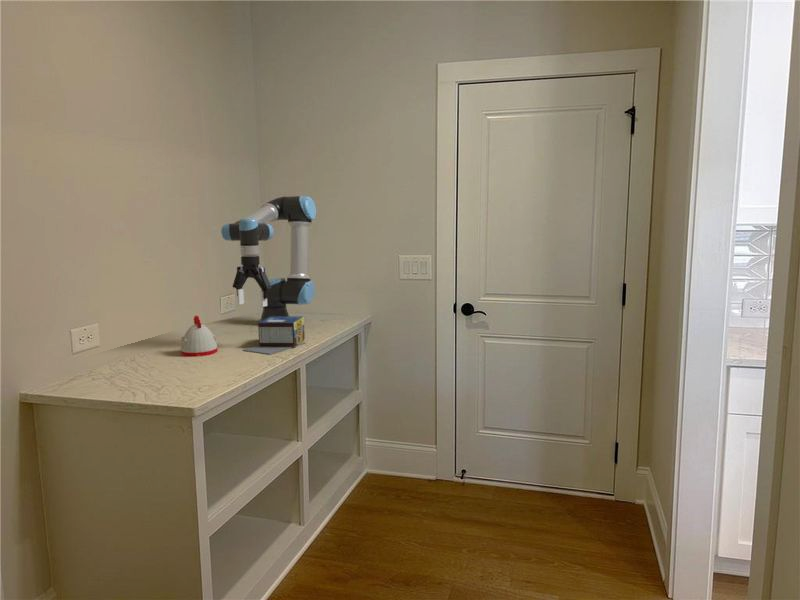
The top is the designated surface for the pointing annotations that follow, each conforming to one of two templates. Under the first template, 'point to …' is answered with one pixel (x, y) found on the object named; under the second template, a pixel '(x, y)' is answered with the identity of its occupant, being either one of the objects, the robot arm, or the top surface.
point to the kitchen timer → (198, 341)
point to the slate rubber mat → (269, 349)
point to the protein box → (281, 331)
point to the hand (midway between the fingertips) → (252, 305)
